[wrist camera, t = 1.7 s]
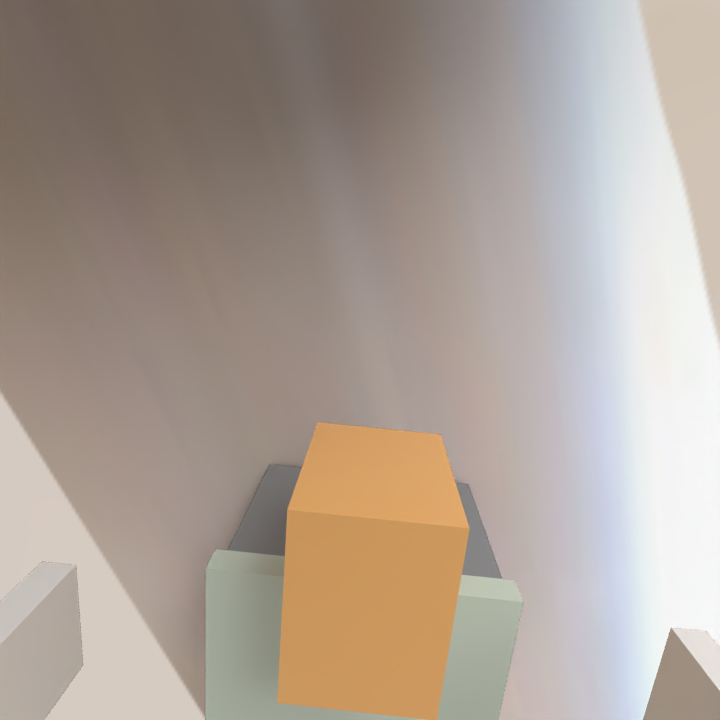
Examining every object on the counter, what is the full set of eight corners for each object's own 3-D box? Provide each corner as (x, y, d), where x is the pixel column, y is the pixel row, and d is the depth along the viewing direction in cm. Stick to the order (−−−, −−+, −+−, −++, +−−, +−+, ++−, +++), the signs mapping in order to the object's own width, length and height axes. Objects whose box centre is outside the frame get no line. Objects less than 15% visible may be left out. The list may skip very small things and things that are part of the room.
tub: (269, 464, 23) (224, 556, 16) (468, 484, 23) (505, 586, 16) (261, 654, 26) (221, 799, 19) (437, 673, 26) (457, 826, 19)
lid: (226, 401, 16) (138, 494, 10) (533, 431, 16) (622, 544, 10) (221, 776, 21) (159, 988, 15) (459, 803, 20) (490, 1029, 14)
